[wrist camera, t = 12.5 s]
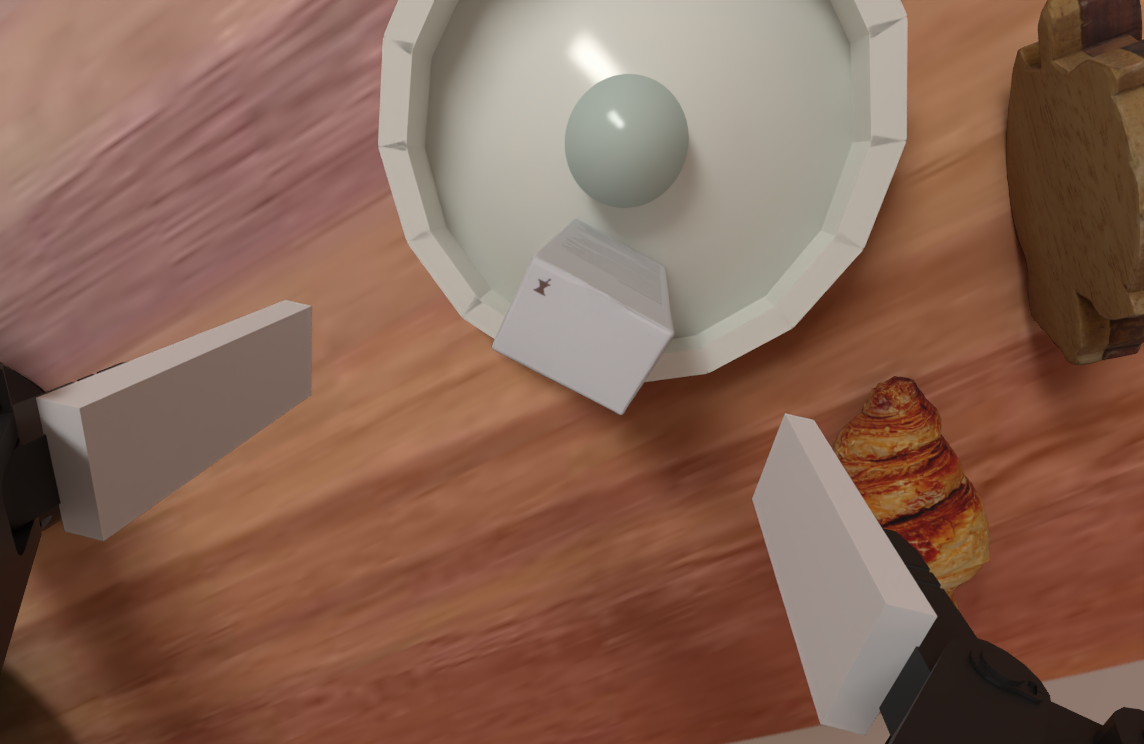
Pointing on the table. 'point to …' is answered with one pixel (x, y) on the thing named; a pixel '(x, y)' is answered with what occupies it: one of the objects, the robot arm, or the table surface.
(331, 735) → the table surface
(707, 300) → the ring tray
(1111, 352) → the wooden carving
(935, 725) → the robot arm
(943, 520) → the croissant
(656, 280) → the skincare box
